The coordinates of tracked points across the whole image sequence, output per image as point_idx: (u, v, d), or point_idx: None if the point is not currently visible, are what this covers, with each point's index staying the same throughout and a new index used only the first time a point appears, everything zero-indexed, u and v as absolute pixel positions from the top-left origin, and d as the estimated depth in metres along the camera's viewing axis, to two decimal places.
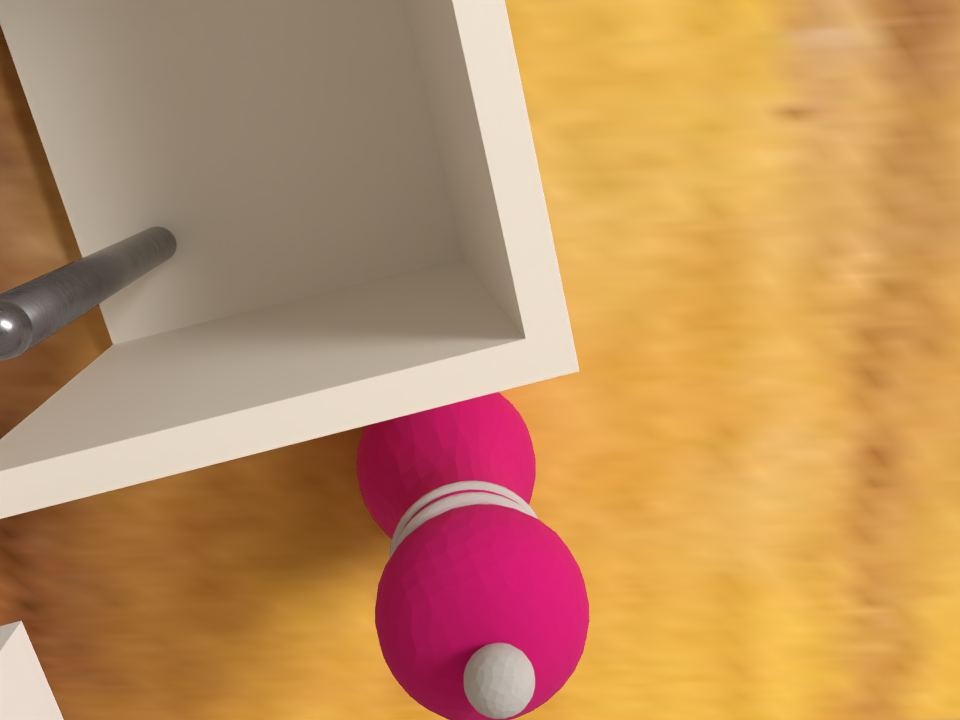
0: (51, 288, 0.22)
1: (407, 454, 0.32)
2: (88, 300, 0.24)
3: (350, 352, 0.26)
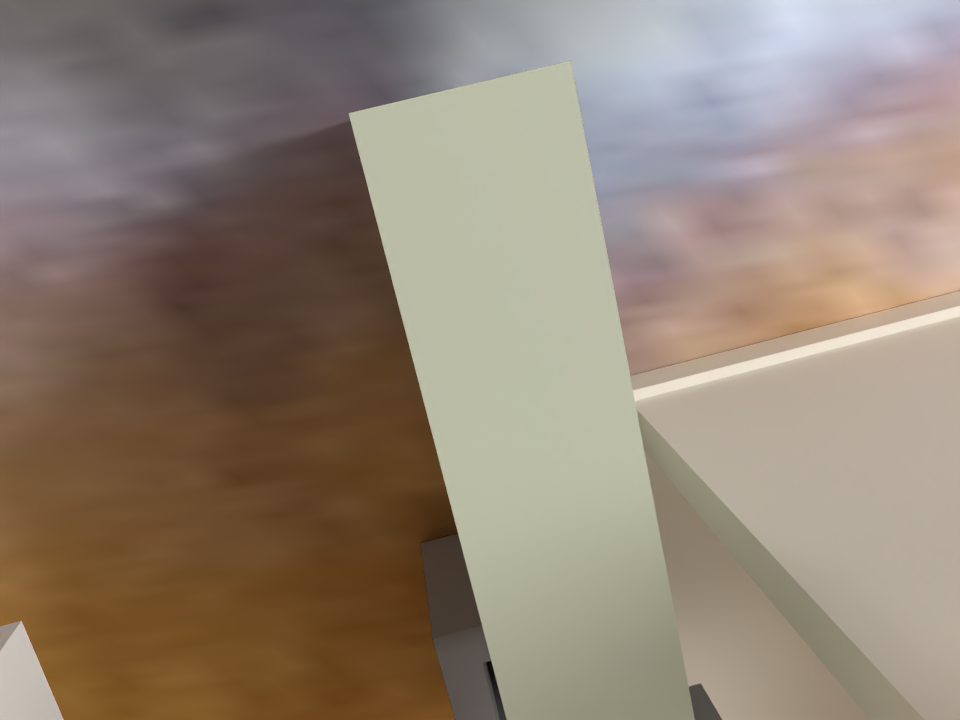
0: None
1: None
2: None
3: None
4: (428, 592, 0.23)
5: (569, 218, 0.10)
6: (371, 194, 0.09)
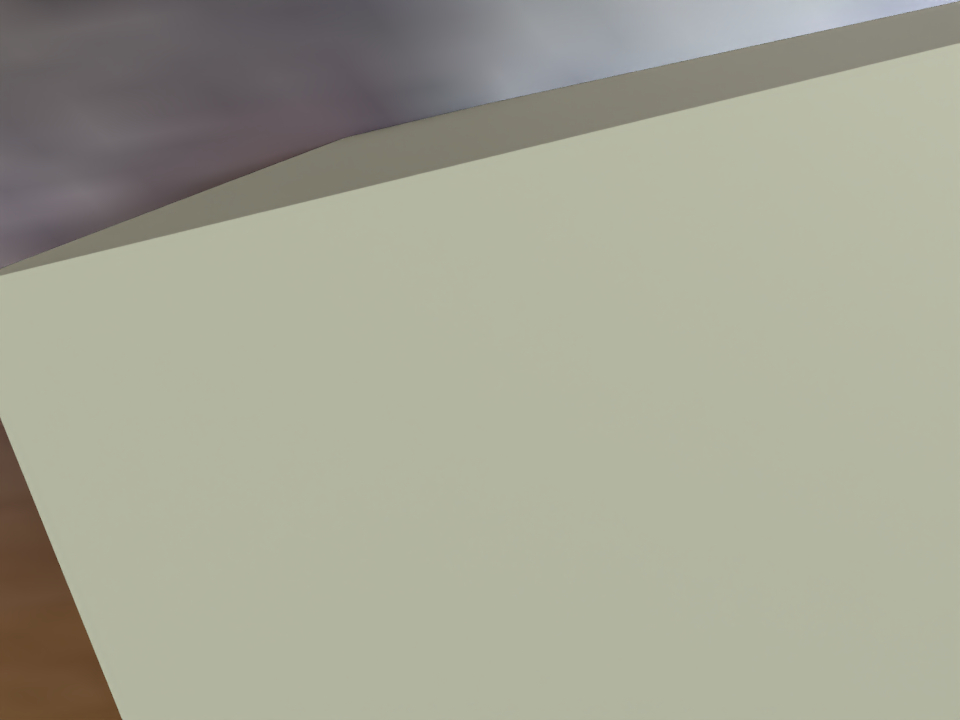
0: None
1: None
2: None
3: None
4: None
5: None
6: None
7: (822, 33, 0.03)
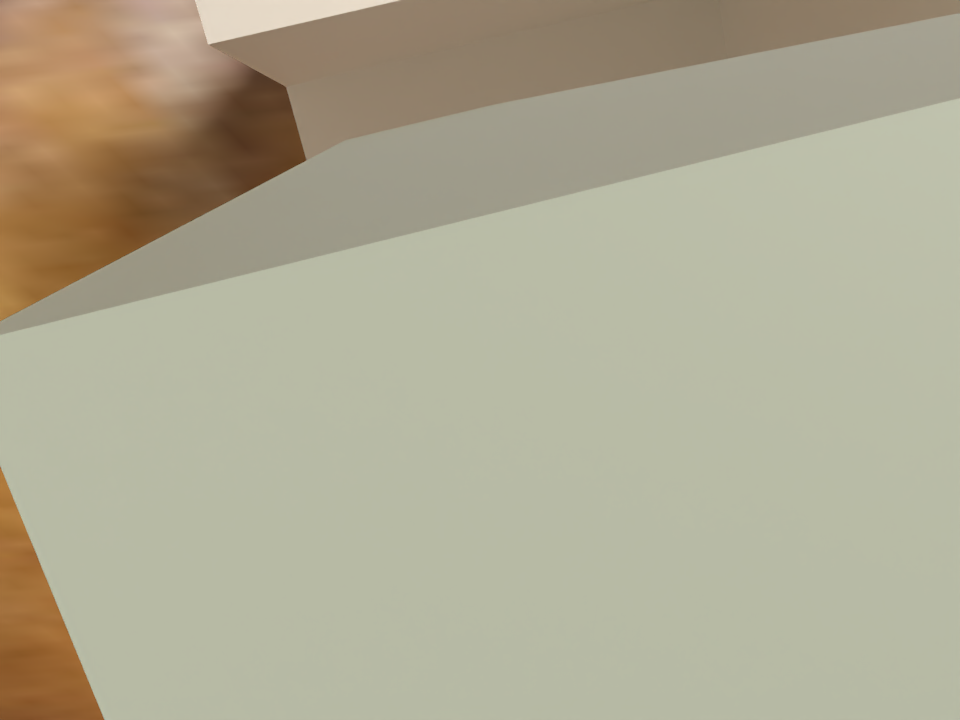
0: None
1: None
2: None
3: None
4: None
5: None
6: None
7: (828, 43, 0.03)
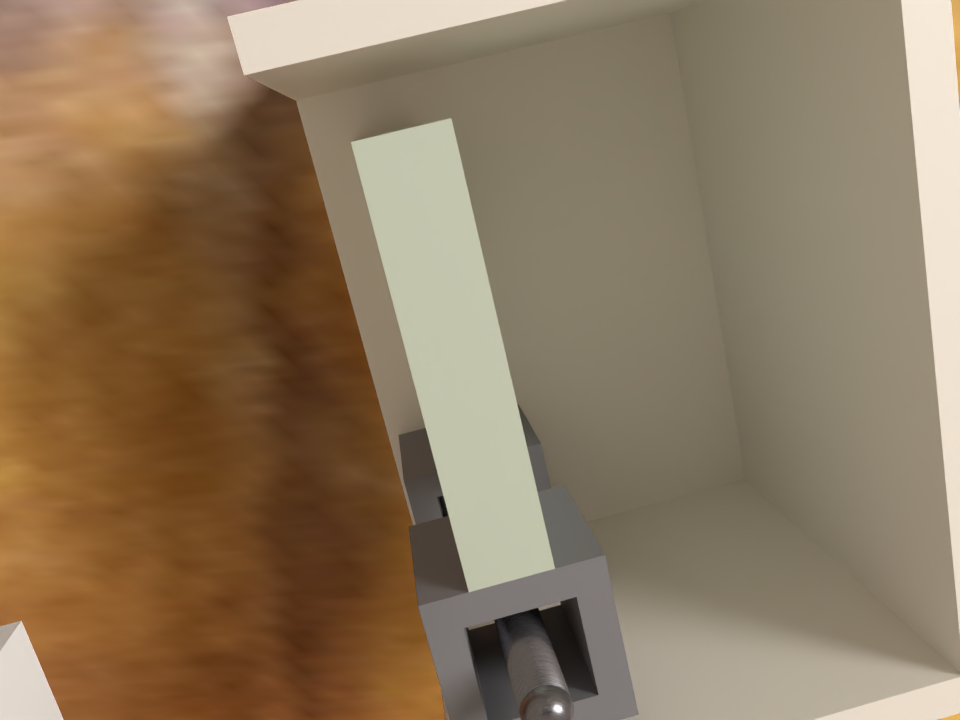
0: (545, 639, 0.25)
1: None
2: None
3: (758, 654, 0.28)
4: (402, 458, 0.34)
5: (453, 190, 0.21)
6: (361, 178, 0.21)
7: None
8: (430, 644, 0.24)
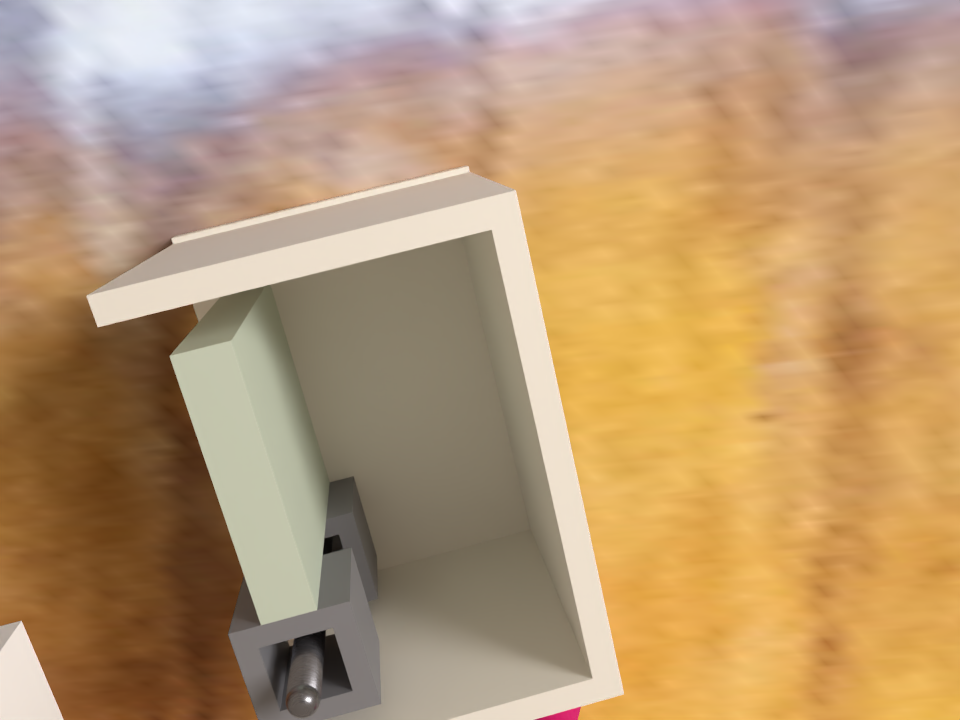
0: (316, 655, 0.38)
1: None
2: (324, 643, 0.40)
3: (479, 663, 0.41)
4: None
5: (235, 382, 0.34)
6: None
7: (229, 329, 0.36)
8: (237, 658, 0.37)
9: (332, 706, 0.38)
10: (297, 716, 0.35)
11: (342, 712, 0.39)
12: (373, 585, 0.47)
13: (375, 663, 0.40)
